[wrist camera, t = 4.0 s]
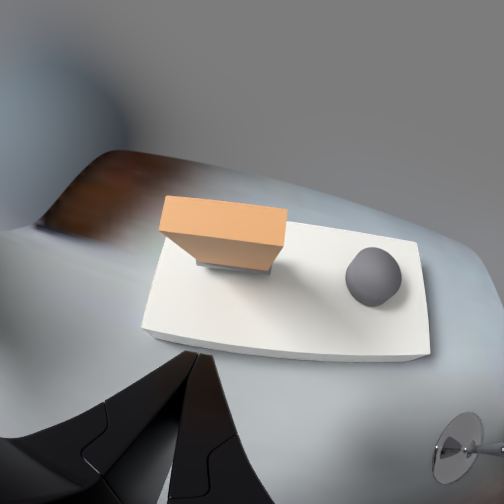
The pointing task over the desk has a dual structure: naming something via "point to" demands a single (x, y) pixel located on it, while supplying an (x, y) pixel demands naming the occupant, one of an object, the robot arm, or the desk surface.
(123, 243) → the desk surface
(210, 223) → the paddle lever
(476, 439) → the wine glass
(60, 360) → the desk surface
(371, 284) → the push button
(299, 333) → the switch panel
